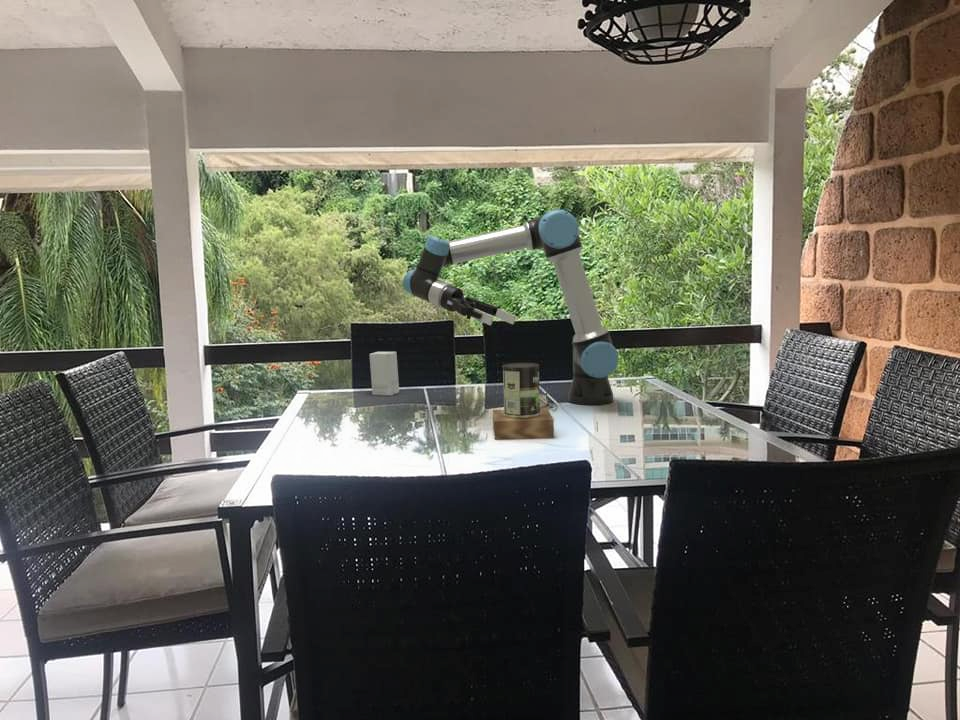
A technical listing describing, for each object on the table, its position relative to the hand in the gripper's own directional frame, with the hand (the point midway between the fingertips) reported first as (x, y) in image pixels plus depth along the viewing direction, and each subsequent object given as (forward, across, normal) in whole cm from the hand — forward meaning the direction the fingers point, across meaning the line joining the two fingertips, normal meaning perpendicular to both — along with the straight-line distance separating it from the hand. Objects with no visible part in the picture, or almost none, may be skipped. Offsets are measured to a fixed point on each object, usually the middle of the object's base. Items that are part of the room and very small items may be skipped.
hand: (503, 320), depth 230 cm
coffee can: (+19, +8, -21) cm, 29 cm away
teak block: (+20, +8, -26) cm, 34 cm away
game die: (+16, -11, -26) cm, 33 cm away
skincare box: (-52, -26, -49) cm, 76 cm away
